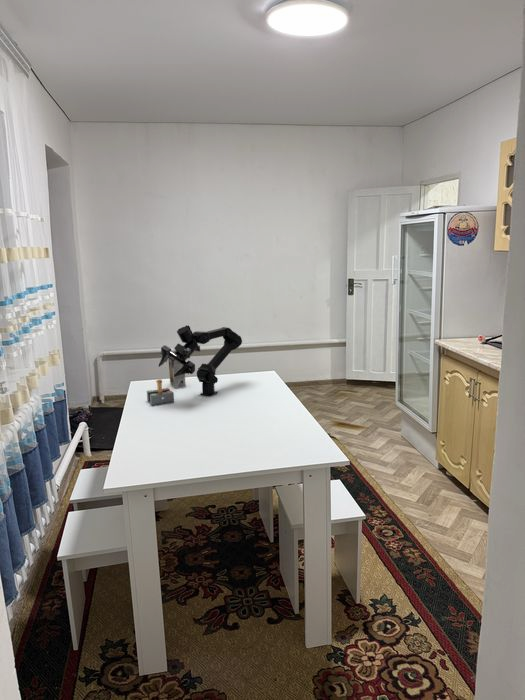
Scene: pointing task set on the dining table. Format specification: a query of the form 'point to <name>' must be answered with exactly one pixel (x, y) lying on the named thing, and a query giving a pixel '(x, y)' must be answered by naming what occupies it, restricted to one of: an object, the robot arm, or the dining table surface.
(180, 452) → the dining table surface
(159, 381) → the breaker handle
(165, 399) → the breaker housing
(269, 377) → the dining table surface
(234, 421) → the dining table surface
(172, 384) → the coffee box
